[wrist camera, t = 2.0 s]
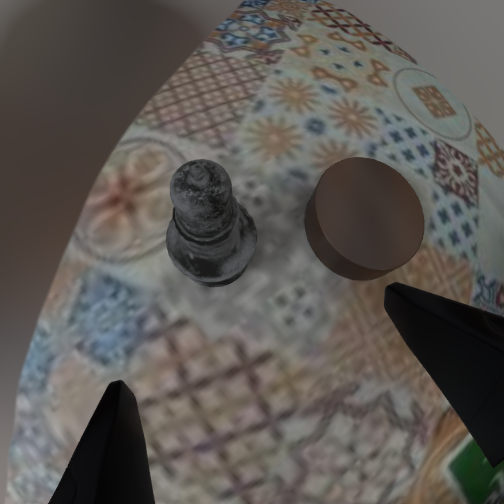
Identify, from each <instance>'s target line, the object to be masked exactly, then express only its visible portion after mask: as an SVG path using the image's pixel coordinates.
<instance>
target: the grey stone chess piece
mask: <svg viewBox="0 0 504 504" xmlns="http://www.w3.org/2000/svg"><path fill="white" fill-rule="evenodd" d="M170 196H171V200H172V202H173V205H174V208H173V218H172V220H171V221H170V223H169V227H168V230H167V235H166V245H167V249H168V253H169V256H170V258H171V260H172V261H173V263H174V265H175V266H176V267H177V268H178V269H179V270H180V271H181V272H182V273H183V274H185V275H187V276H189V277H190V278H191V279H192V280H193V281H195V282H197V283H199V284H201V285H204V286H208V287H221V286H224V285H227V284H230V283H232V282H233V281H235V280H236V279H238V278H239V277H240V276H241V274H242V273H243V272H244V271H245V269H246V267H247V265H248V263H249V262H250V260H251V258H252V256H253V254H254V252H255V247H256V242H257V234H256V227H255V224H254V222H253V219H252V217H251V216H250V214H249V213H248V212H247V210H246V209H245V208H244V207H242V206H241V205H240V204H239V203H237V200H236V198H235V197H234V195H233V194H232V184H231V181H230V178H229V175H228V174H227V172H226V171H225V169H224V168H223V167H222V166H220V165H219V164H218V163H215V162H213V161H211V160H205V159H200V160H193V161H190V162H188V163H186V164H184V165H182V166H181V167H180V168H179V169H178V170H177V171H176V172H175V174H174V175H173V177H172V180H171V183H170Z"/></svg>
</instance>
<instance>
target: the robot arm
mask: <svg viewBox="0 0 504 504" xmlns="http://www.w3.org/2000/svg"><path fill="white" fill-rule="evenodd" d="M384 308H385V310H386V312H387V314H388V315H389V317H390V319H391V320H392V322H393V323H394V325H395V327H396V328H397V330H398V332H399V333H400V335H401V336H402V338H403V340H404V341H405V343H406V344H407V346H408V347H409V348H410V350H411V351H412V352H413V354H414V355H415V356H416V358H417V359H418V360H419V362H420V363H421V364H422V366H423V367H424V368H425V370H426V371H427V372H428V374H429V375H430V376H431V378H432V379H433V380H434V382H435V383H436V385H437V386H438V387H439V389H440V390H441V391H442V393H443V394H444V396H445V397H446V398H447V400H448V401H449V403H450V404H451V406H452V407H453V408H454V410H455V411H456V413H457V414H458V416H459V417H460V419H461V420H462V421H463V423H464V424H465V426H466V427H467V429H468V431H469V432H470V434H471V435H472V437H473V438H474V440H475V441H476V443H477V444H478V446H479V447H480V449H481V450H482V452H483V454H484V455H485V457H486V458H487V460H488V461H489V463H490V465H491V466H492V467H493V468H494V467H496V466H497V465H498V464H499V463H501V462H502V461H503V460H504V317H503V316H500V315H496V314H493V313H490V312H487V311H483V310H481V309H478V308H475V307H472V306H469V305H466V304H463V303H460V302H457V301H454V300H451V299H448V298H445V297H442V296H438V295H435V294H432V293H429V292H426V291H423V290H420V289H417V288H414V287H411V286H407V285H404V284H401V283H398V282H394V283H392V284H390V285H388V286H386V288H385V297H384ZM48 504H155V500H154V494H153V489H152V483H151V477H150V471H149V464H148V457H147V450H146V443H145V438H144V433H143V429H142V425H141V420H140V416H139V411H138V406H137V401H136V398H135V396H134V394H133V393H132V391H131V390H130V389H129V388H128V386H127V385H126V384H125V383H124V382H123V381H122V380H118V381H114V382H111V383H110V384H109V385H108V387H107V389H106V391H105V393H104V394H103V396H102V398H101V400H100V402H99V404H98V406H97V408H96V410H95V412H94V413H93V415H92V417H91V419H90V421H89V423H88V425H87V427H86V429H85V431H84V433H83V435H82V437H81V439H80V441H79V443H78V445H77V447H76V449H75V451H74V453H73V455H72V458H71V460H70V462H69V464H68V467H67V468H66V470H65V472H64V474H63V476H62V478H61V480H60V482H59V485H58V487H57V488H56V490H55V492H54V494H53V496H52V498H51V499H50V501H49V503H48ZM499 504H504V499H503V500H502V501H501V502H500V503H499Z"/></svg>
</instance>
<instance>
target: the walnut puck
mask: <svg viewBox="0 0 504 504" xmlns="http://www.w3.org/2000/svg"><path fill="white" fill-rule="evenodd" d="M305 230H306V235H307V238H308V241H309V243H310V245H311V248H312V249H313V251H314V253H315V254H316V256H317V257H318V258H319V259H320V261H321V262H322V263H323V264H324V265H325V266H327V267H328V268H329V269H330V270H332V271H333V272H335V273H337V274H338V275H341V276H343V277H345V278H349V279H352V280H372V279H375V278H379V277H381V276H383V275H385V274H387V273H388V272H390V271H392V270H394V269H396V268H398V267H400V266H402V265H404V264H405V263H407V262H408V261H409V260H410V259H411V258H412V257H413V256H414V255H415V253H416V252H417V251H418V249H419V247H420V245H421V242H422V239H423V234H424V215H423V210H422V207H421V204H420V201H419V199H418V197H417V195H416V193H415V191H414V190H413V188H412V187H411V185H410V184H409V183H408V182H407V180H406V179H405V178H404V177H403V176H402V175H401V174H399V173H398V172H397V171H396V170H394V169H393V168H391V167H390V166H388V165H386V164H384V163H382V162H380V161H377V160H374V159H370V158H362V157H355V158H348V159H344V160H341V161H339V162H337V163H335V164H334V165H332V166H331V167H330V168H328V169H327V170H326V171H325V173H324V174H323V175H322V177H321V178H320V180H319V182H318V184H317V186H316V188H315V190H314V192H313V194H312V196H311V198H310V200H309V203H308V205H307V208H306V212H305Z"/></svg>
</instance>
